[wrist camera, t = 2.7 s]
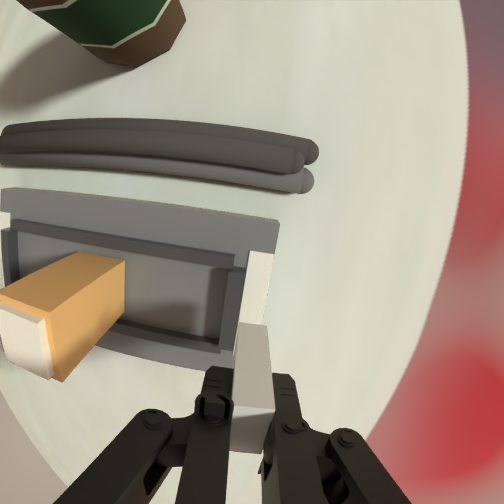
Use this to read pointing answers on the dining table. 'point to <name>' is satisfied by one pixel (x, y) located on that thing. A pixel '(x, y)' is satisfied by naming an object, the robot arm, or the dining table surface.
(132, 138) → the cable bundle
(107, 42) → the beer bottle
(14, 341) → the block
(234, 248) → the grey rectangular tray
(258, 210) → the dining table surface
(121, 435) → the robot arm
